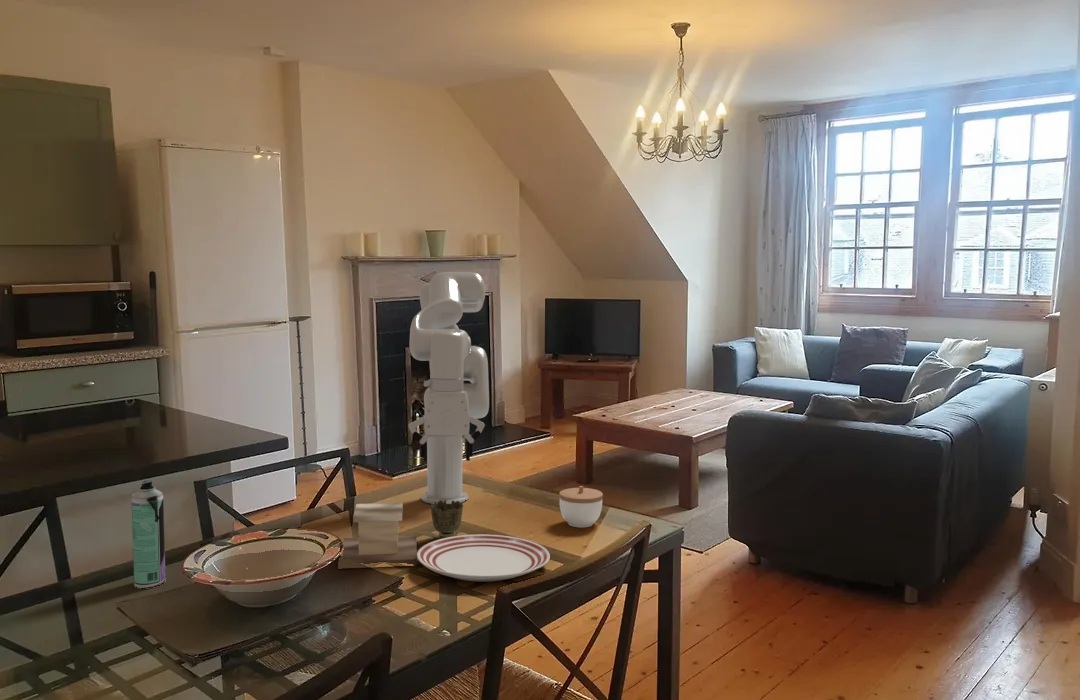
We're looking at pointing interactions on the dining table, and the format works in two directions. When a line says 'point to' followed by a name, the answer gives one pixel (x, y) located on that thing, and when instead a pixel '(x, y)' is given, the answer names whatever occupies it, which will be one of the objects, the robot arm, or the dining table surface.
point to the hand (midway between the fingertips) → (446, 460)
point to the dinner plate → (483, 557)
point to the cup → (446, 517)
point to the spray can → (148, 536)
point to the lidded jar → (580, 506)
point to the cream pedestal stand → (380, 536)
